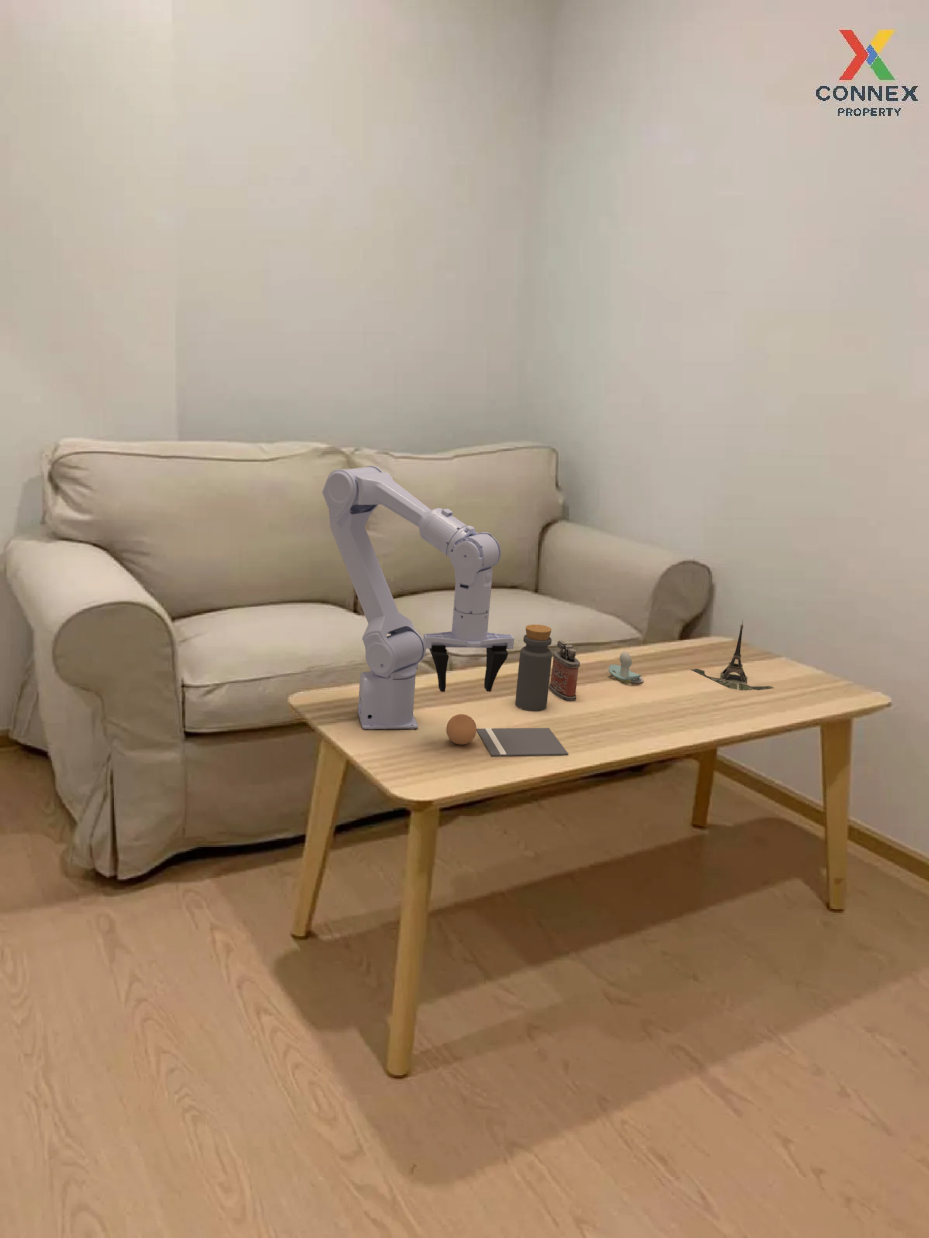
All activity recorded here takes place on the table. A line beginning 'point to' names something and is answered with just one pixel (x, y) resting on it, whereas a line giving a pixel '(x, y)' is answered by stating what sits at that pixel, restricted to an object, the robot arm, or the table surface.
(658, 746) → the table surface
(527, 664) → the bottle
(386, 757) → the table surface
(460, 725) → the ball
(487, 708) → the table surface
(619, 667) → the pacifier
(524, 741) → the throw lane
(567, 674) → the lighter
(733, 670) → the eiffel tower figurine
